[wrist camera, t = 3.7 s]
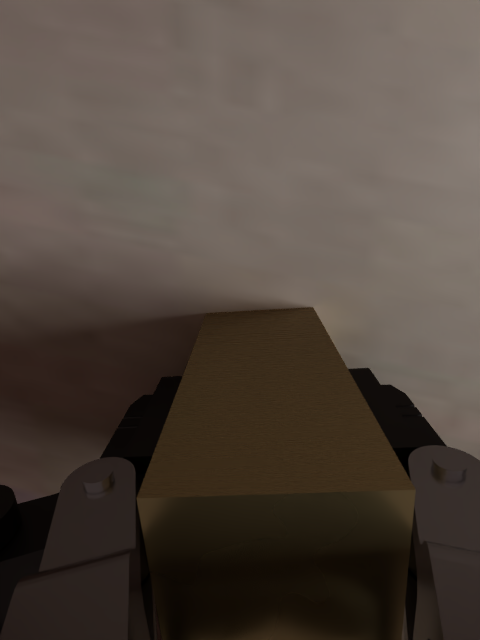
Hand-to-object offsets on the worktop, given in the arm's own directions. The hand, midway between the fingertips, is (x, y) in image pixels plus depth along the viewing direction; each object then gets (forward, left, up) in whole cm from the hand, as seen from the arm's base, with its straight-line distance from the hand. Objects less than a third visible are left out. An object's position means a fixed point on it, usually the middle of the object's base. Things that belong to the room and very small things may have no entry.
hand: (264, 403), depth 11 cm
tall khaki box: (0, 0, -1) cm, 1 cm away
